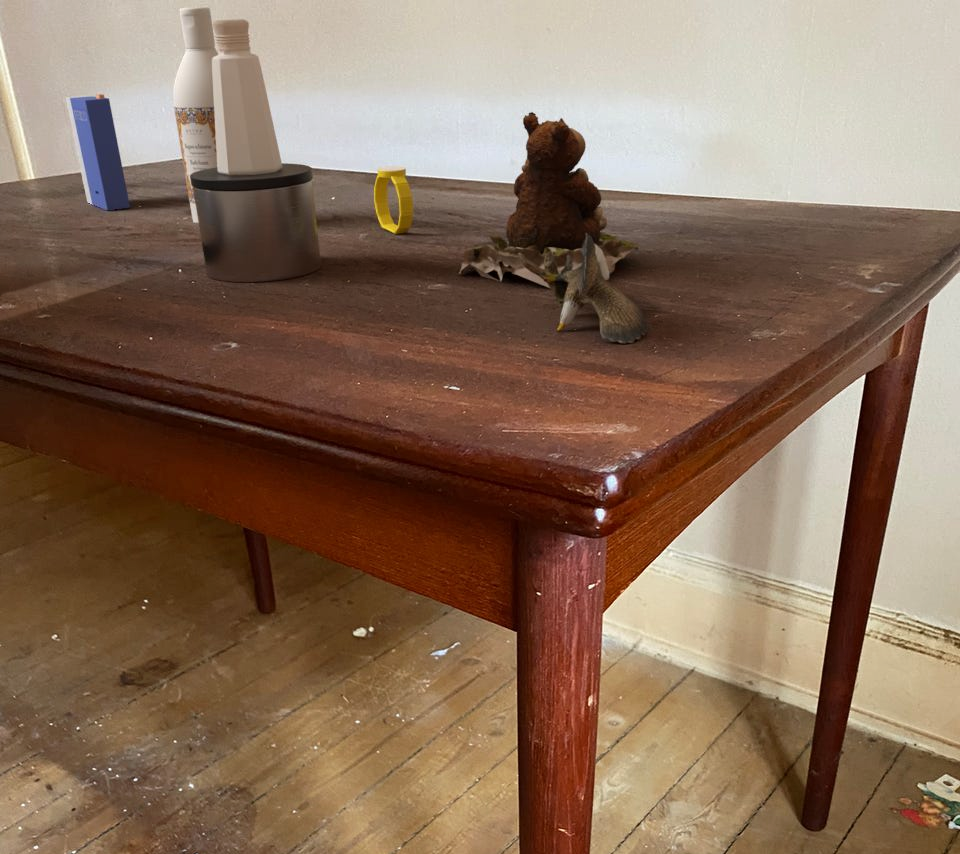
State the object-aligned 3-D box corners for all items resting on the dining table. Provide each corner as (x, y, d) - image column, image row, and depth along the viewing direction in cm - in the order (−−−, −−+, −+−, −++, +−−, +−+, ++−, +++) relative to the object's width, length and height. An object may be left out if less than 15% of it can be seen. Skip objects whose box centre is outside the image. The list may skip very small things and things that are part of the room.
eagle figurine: (494, 308, 73) (563, 310, 66) (533, 211, 73) (607, 201, 65) (576, 354, 77) (649, 360, 70) (614, 262, 77) (692, 258, 69)
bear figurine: (671, 261, 90) (680, 102, 83) (556, 295, 81) (557, 120, 75) (552, 243, 98) (552, 98, 92) (435, 272, 89) (427, 113, 83)
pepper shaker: (247, 165, 91) (227, 19, 86) (295, 168, 89) (278, 17, 83) (204, 174, 88) (180, 21, 82) (254, 177, 85) (233, 19, 79)
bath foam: (180, 229, 111) (143, 9, 100) (217, 217, 116) (184, 8, 106) (236, 231, 109) (204, 7, 98) (271, 219, 114) (243, 6, 104)
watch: (369, 229, 108) (364, 166, 104) (393, 225, 109) (389, 163, 106) (396, 237, 103) (391, 172, 100) (421, 234, 104) (417, 169, 101)
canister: (181, 277, 91) (163, 177, 87) (254, 254, 98) (241, 161, 94) (276, 286, 87) (262, 182, 82) (344, 261, 94) (335, 165, 90)
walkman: (130, 208, 124) (108, 94, 118) (107, 211, 123) (84, 96, 117) (109, 200, 130) (87, 92, 124) (87, 203, 129) (63, 93, 122)
